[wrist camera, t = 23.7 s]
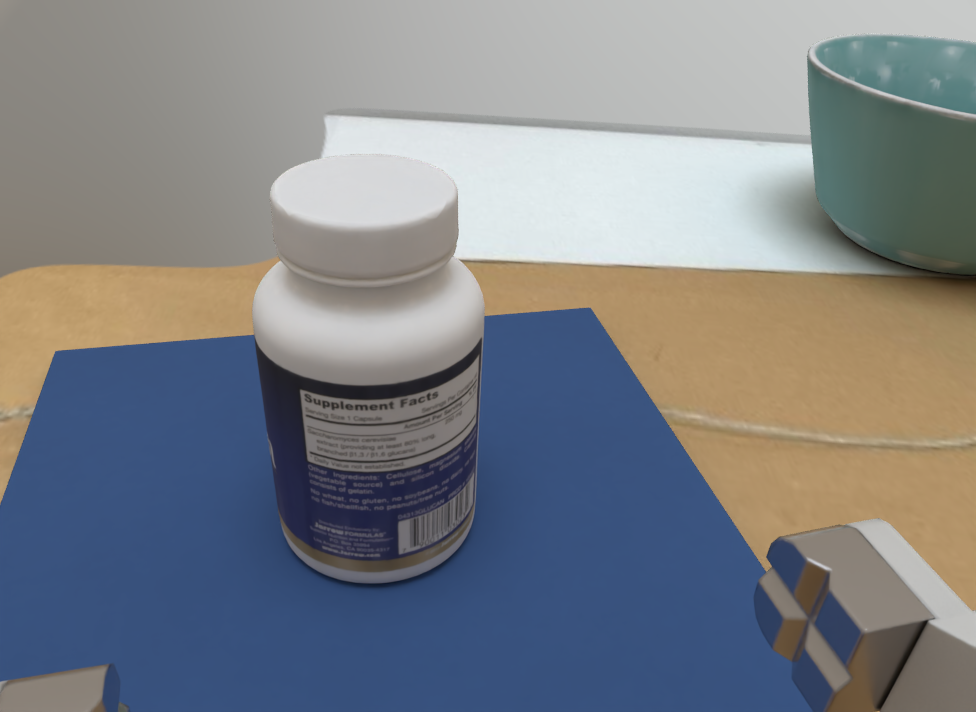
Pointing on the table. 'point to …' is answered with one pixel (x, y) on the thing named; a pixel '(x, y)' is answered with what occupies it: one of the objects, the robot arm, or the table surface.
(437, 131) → the table surface
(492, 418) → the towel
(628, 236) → the table surface
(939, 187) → the bowl
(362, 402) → the pill bottle
